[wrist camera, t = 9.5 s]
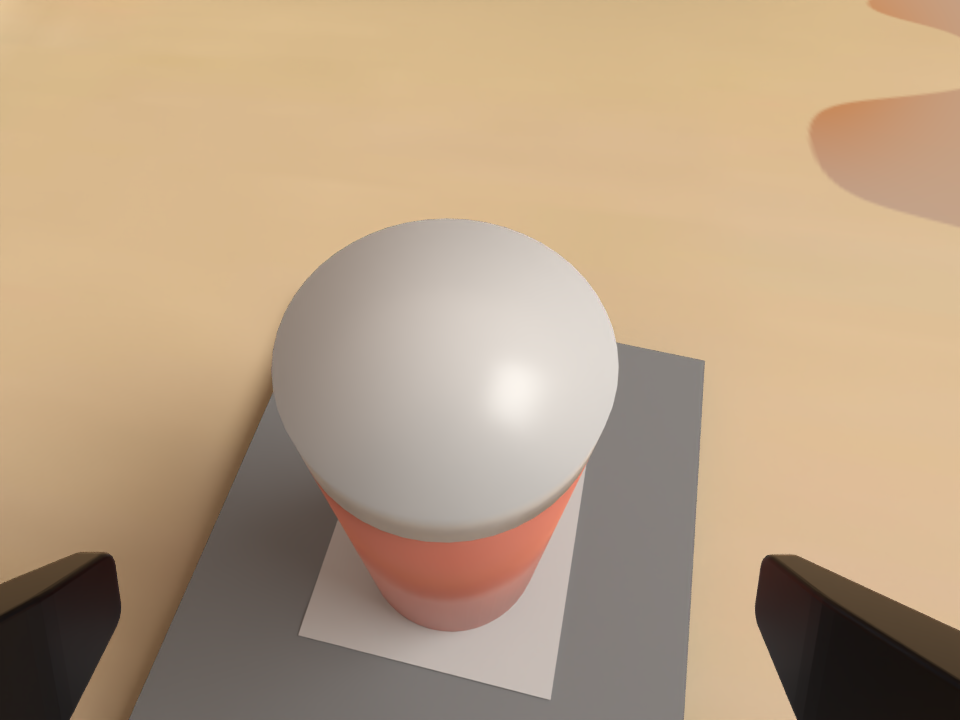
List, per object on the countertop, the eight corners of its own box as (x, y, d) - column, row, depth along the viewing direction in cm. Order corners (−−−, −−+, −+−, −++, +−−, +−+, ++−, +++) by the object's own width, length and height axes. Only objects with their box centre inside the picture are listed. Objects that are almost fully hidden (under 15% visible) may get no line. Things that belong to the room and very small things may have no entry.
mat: (657, 946, 15) (670, 961, 14) (114, 791, 16) (94, 795, 16) (695, 374, 23) (705, 359, 22) (326, 297, 24) (321, 280, 23)
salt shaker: (471, 671, 17) (485, 602, 8) (331, 558, 18) (196, 379, 9) (569, 522, 19) (678, 320, 10) (438, 430, 21) (420, 174, 11)
